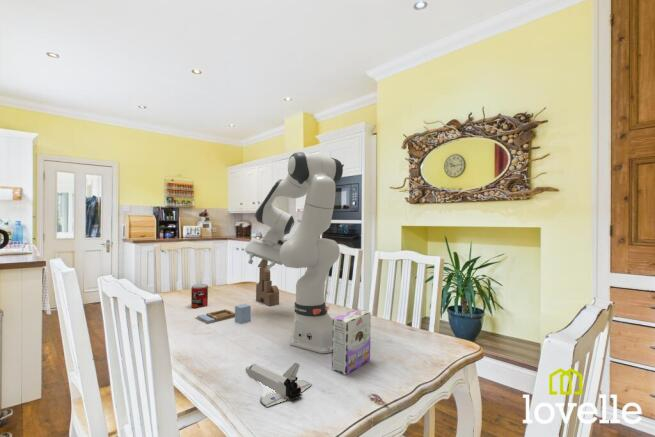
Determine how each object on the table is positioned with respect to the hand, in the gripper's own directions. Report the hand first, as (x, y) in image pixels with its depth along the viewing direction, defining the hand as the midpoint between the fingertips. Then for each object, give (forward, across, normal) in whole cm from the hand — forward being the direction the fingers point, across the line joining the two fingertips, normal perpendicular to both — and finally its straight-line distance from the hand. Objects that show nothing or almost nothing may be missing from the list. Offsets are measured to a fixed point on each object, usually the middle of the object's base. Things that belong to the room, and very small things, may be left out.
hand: (258, 266), depth 154 cm
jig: (+27, -9, +9) cm, 30 cm away
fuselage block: (+25, +4, +6) cm, 26 cm away
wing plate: (+29, -12, +5) cm, 32 cm away
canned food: (+22, -30, +24) cm, 45 cm away
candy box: (+29, +57, -21) cm, 67 cm away
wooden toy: (+6, -2, +36) cm, 36 cm away
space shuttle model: (+44, +38, -33) cm, 67 cm away
